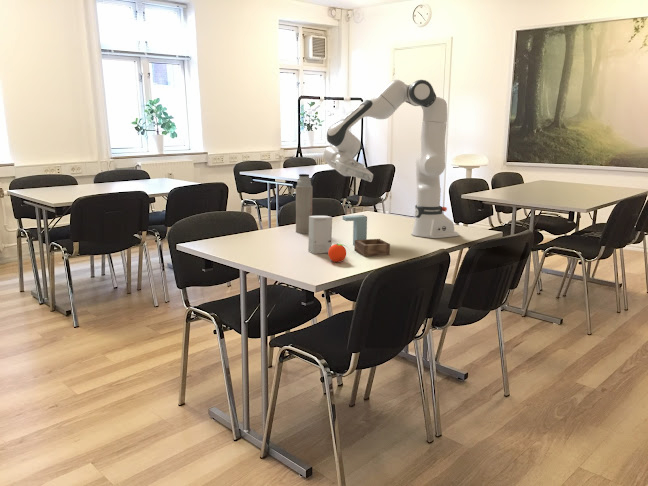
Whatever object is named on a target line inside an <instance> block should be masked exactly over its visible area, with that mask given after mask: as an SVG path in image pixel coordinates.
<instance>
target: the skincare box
mask: <svg viewBox="0 0 648 486" xmlns="http://www.w3.org/2000/svg"><path fill="white" fill-rule="evenodd" d="M332 230H333V217H332V216H328V215H312V216H309V233H308V249H307V250H308V252H310V253H311V254H313V255H317V254H318V255H319V254H326V253H328V251H329V248H330V247H331V246H332V240H333V239H332V238H333V237H332V233H333V231H332Z"/></svg>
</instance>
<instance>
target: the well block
mask: <svg viewBox="0 0 648 486" xmlns="http://www.w3.org/2000/svg"><path fill="white" fill-rule="evenodd" d="M390 250H391V244H390V243H388V242H387V241H385V240H383V239H381V238H373V239H372V238H370V239H369V238H368V239H366V240H355V246H354V252H356V253H358V255H360V256H362V257H365V258H366V257H380V256H381V257H382V256H390V254H391V253H390V252H391V251H390Z"/></svg>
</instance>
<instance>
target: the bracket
mask: <svg viewBox="0 0 648 486" xmlns="http://www.w3.org/2000/svg"><path fill="white" fill-rule="evenodd" d="M342 220H343V221H345V222H352V223H353V225H352V226H353V227H352V228H353V229H352V232H353V233H352V245H353V246H354V247H355V240H366V239H367V238H368V237H367V236H368V234H367V233H368V231H367V230H368V216H367V215H365V214H361V215H359V214H357V215H342Z"/></svg>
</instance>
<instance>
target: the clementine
mask: <svg viewBox="0 0 648 486" xmlns="http://www.w3.org/2000/svg"><path fill="white" fill-rule="evenodd" d="M346 248H347V249H349V248H348V246H347V245H344V244H341V243H335V244H331V247H330V248H329V251H328V254H327V255H328V258H329V259H330V261H332V262H334V263H340V262H343V261H344V260H345V259H346V257H347V250H346Z"/></svg>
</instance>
